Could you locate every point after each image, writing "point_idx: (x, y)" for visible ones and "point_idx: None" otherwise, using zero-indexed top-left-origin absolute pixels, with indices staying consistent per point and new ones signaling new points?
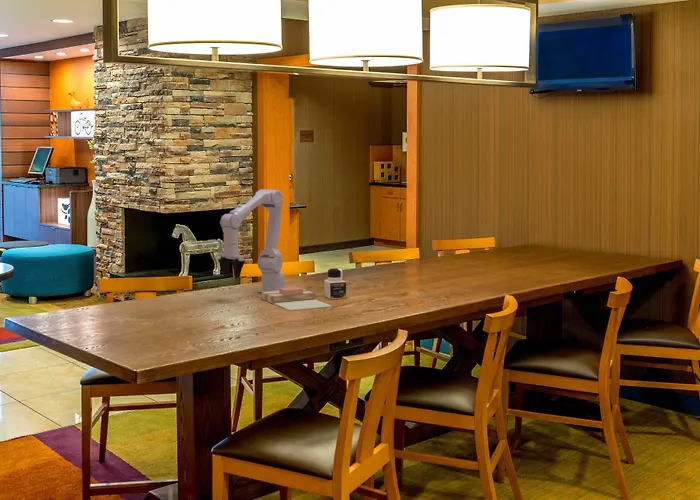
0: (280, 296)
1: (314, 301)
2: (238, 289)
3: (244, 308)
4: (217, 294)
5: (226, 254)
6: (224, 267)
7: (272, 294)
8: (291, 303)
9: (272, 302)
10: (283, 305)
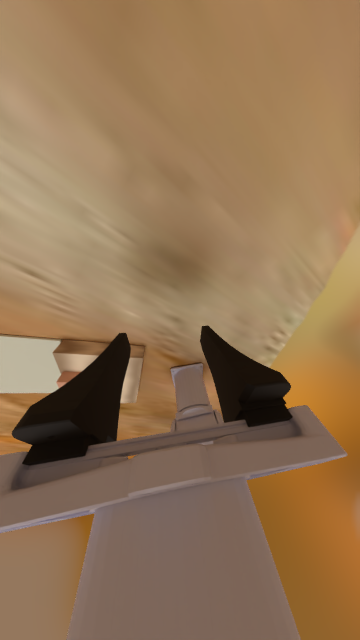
0: (57, 363)
1: (56, 388)
2: (249, 353)
3: (9, 252)
4: (251, 307)
5: (149, 513)
6: (217, 355)
7: (89, 360)
8: (44, 361)
9: (72, 342)
10: (19, 343)
